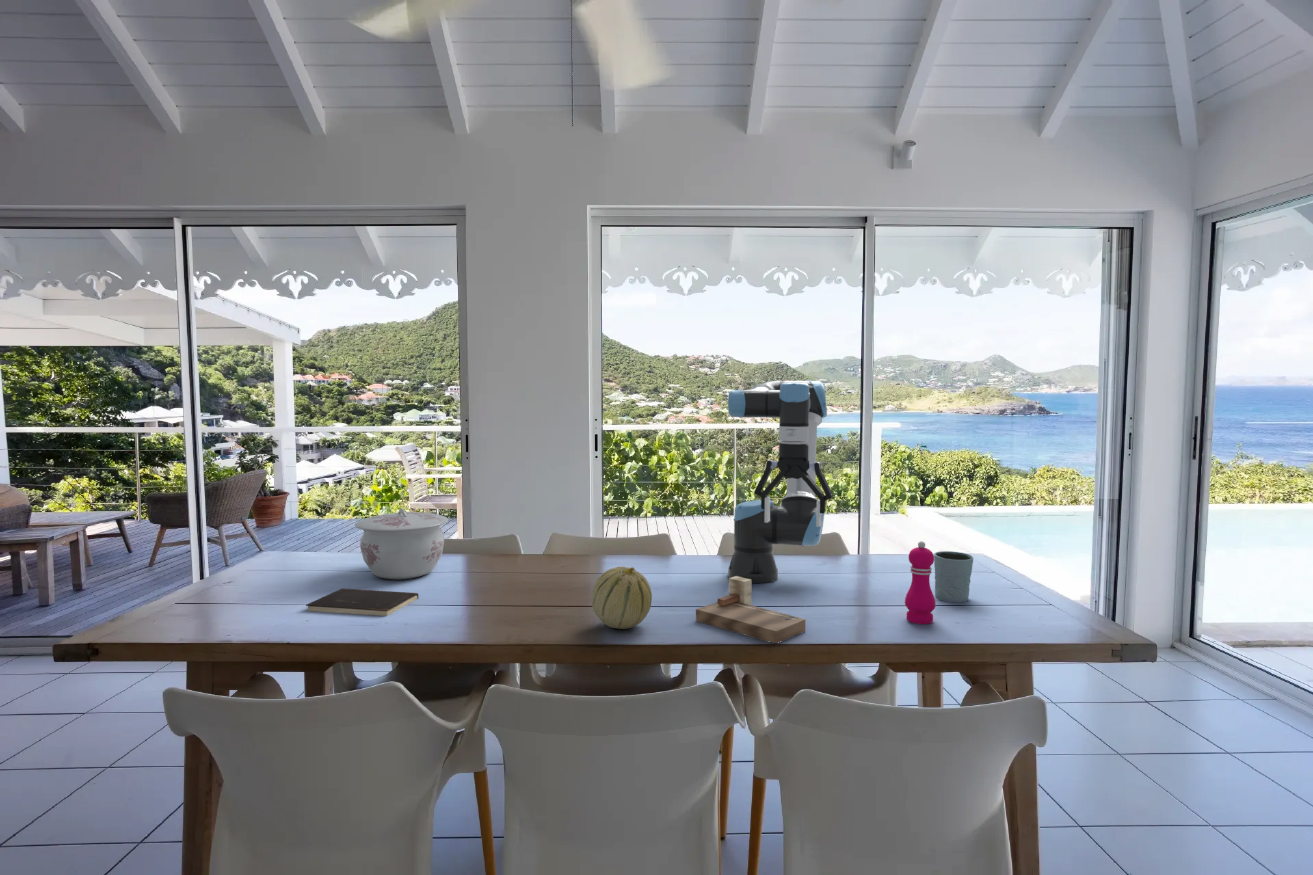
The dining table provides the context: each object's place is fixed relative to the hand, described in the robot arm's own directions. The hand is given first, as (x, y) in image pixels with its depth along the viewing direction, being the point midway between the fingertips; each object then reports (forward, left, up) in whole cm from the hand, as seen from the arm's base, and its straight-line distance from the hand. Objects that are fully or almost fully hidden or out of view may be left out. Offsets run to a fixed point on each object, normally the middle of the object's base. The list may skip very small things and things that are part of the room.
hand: (792, 523), depth 195 cm
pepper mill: (+29, +14, -23) cm, 39 cm away
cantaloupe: (-21, -41, -23) cm, 52 cm away
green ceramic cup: (+27, +39, -23) cm, 52 cm away
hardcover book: (-84, -76, -23) cm, 116 cm away
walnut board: (+1, -19, -22) cm, 30 cm away
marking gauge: (-8, -14, -22) cm, 27 cm away
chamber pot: (-106, -53, -23) cm, 121 cm away
